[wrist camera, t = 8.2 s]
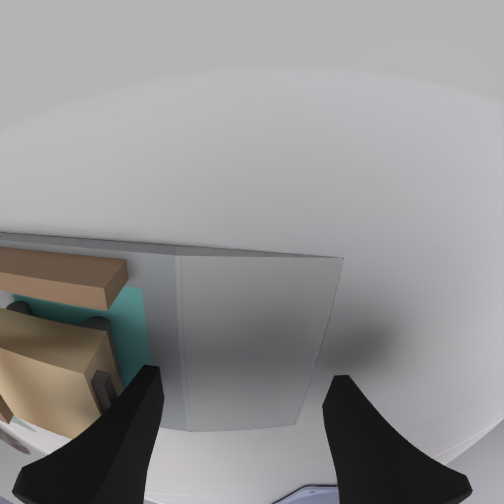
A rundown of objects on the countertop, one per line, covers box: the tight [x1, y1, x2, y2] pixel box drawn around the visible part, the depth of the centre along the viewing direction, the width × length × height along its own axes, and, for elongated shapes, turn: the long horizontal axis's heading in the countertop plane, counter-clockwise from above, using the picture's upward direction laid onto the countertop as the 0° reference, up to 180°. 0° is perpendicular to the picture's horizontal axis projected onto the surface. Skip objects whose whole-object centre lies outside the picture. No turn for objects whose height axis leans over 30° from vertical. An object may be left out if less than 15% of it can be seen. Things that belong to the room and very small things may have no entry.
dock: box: [0, 233, 344, 432], centre depth 11 cm, size 18×10×5 cm, turn 85°
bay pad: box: [12, 286, 152, 387], centre depth 12 cm, size 7×8×1 cm
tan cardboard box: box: [0, 301, 126, 439], centre depth 10 cm, size 6×5×3 cm
